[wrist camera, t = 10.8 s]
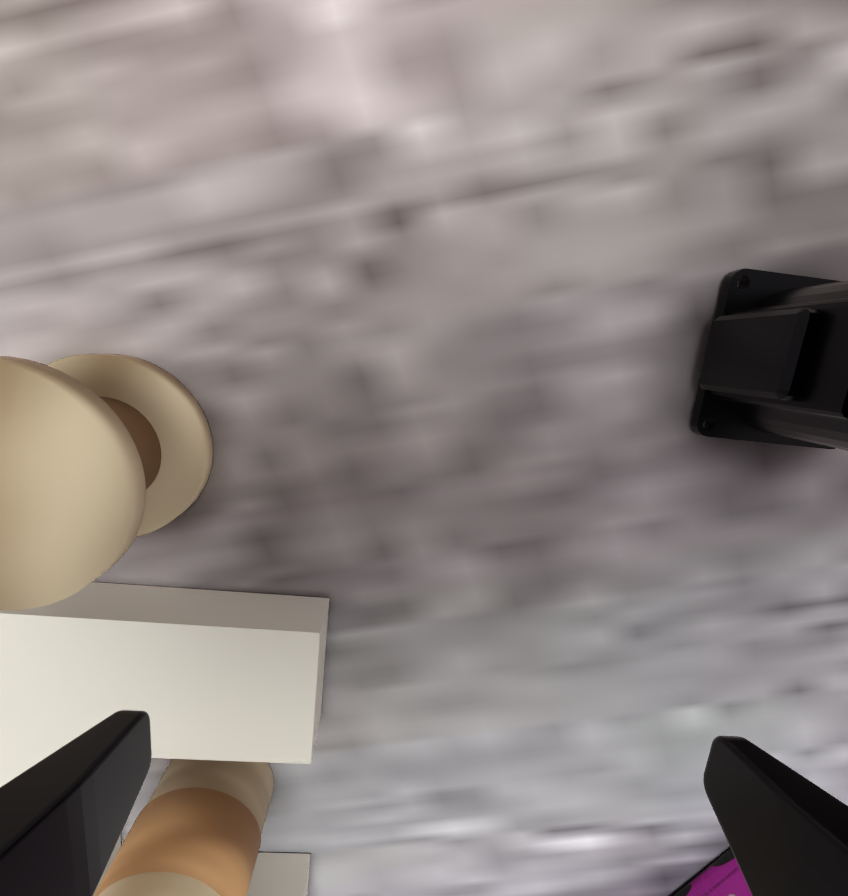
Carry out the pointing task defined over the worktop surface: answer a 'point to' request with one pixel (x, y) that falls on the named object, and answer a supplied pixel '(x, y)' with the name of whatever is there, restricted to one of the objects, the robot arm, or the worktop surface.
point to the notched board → (170, 682)
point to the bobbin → (89, 468)
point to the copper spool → (195, 832)
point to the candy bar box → (718, 880)
